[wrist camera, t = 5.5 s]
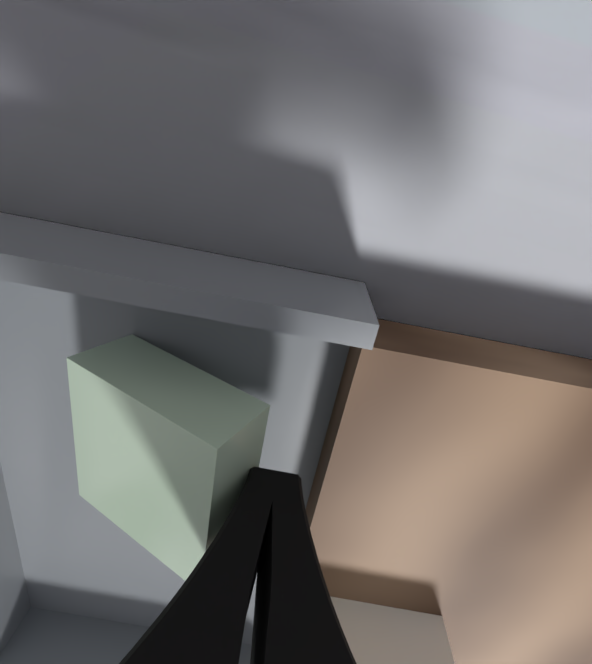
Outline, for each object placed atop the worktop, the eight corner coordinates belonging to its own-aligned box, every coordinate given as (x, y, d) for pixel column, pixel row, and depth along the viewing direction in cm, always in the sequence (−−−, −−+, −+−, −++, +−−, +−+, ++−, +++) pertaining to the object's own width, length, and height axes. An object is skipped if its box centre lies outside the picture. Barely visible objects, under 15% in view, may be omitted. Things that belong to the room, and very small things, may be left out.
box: (364, 282, 11) (379, 325, 8) (267, 644, 19) (257, 727, 16) (-63, 200, 10) (-198, 215, 8) (25, 603, 18) (-26, 680, 16)
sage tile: (270, 405, 9) (217, 448, 8) (246, 536, 12) (200, 593, 10) (132, 334, 11) (66, 357, 10) (132, 458, 13) (79, 494, 12)
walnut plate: (780, 395, 11) (867, 440, 9) (530, 678, 18) (552, 734, 17) (356, 314, 11) (362, 345, 9) (269, 633, 18) (264, 685, 16)
